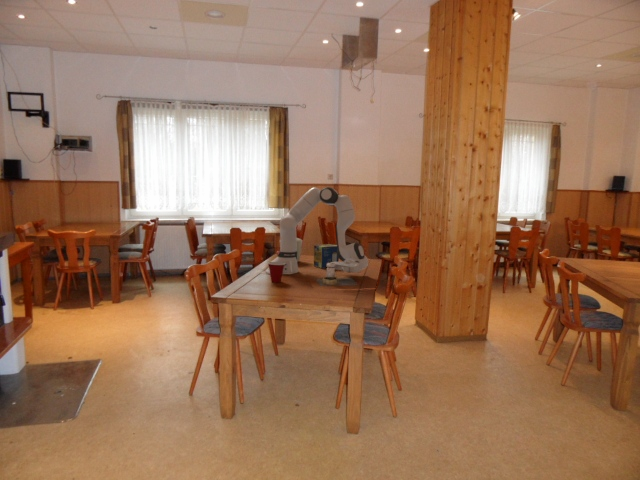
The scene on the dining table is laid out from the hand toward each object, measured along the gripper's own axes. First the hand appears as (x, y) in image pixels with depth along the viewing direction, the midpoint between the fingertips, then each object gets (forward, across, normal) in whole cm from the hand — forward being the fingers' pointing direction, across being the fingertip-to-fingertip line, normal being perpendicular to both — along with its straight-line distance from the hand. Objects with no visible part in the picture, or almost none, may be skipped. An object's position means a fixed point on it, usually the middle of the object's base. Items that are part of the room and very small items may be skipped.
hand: (336, 268), depth 275 cm
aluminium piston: (+5, 0, +8) cm, 10 cm away
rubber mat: (0, +1, +9) cm, 9 cm away
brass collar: (+5, 0, +9) cm, 11 cm away
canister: (-31, -69, +9) cm, 76 cm away
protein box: (-37, -39, +9) cm, 55 cm away
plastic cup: (+23, -29, +9) cm, 38 cm away
